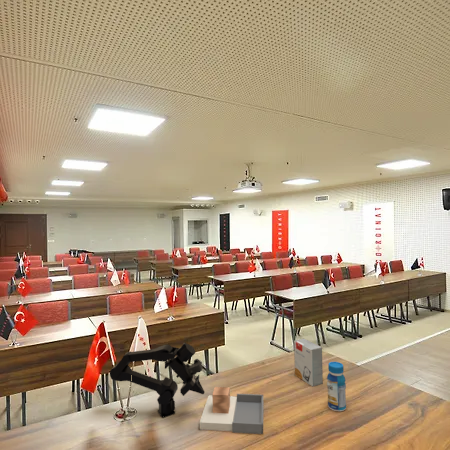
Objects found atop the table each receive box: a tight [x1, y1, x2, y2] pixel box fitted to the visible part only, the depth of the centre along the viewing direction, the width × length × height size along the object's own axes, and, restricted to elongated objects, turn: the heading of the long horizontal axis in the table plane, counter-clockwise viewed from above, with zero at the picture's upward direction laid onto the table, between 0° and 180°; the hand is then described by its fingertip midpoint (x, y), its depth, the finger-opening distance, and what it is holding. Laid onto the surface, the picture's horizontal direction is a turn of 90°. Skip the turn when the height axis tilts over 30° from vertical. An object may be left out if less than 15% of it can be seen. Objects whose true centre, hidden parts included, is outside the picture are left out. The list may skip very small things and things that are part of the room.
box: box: [231, 393, 265, 435], centre depth 146 cm, size 13×24×4 cm, turn 173°
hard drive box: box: [293, 338, 324, 387], centre depth 179 cm, size 16×8×20 cm, turn 25°
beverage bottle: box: [326, 361, 347, 412], centre depth 151 cm, size 8×8×20 cm
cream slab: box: [199, 394, 237, 432], centre depth 147 cm, size 14×22×3 cm, turn 173°
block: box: [212, 386, 231, 413], centre depth 147 cm, size 7×7×8 cm
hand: (203, 393), depth 148 cm, fingers closed
